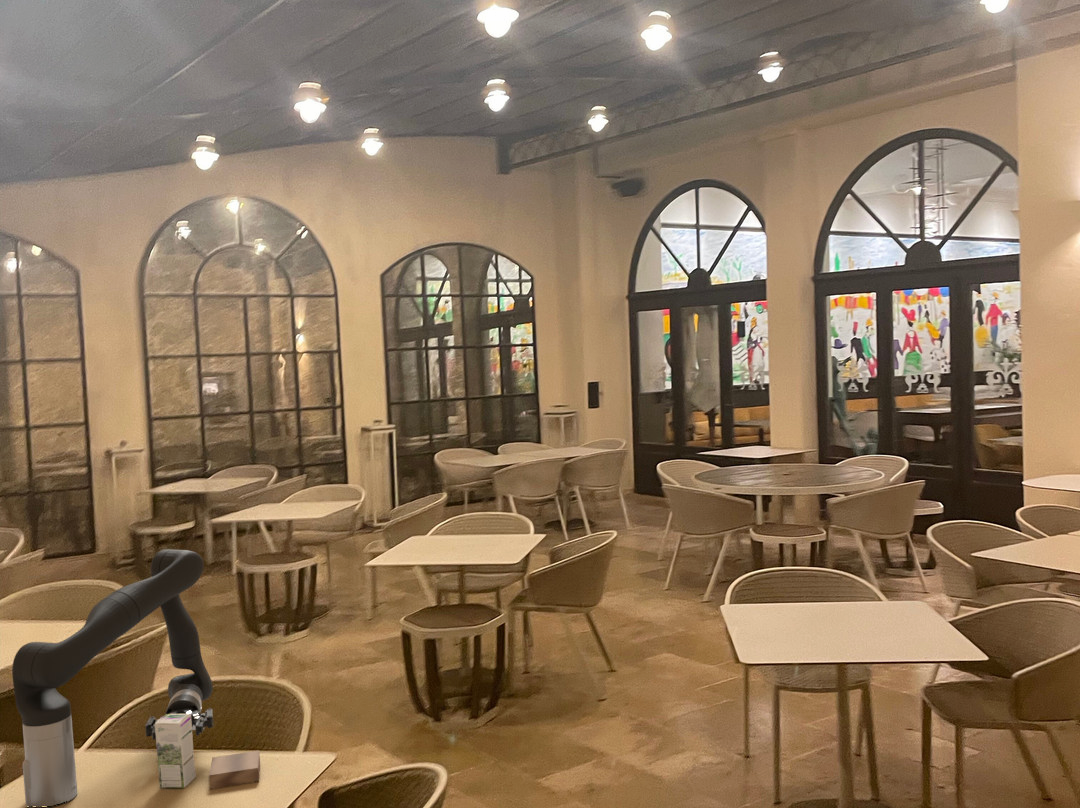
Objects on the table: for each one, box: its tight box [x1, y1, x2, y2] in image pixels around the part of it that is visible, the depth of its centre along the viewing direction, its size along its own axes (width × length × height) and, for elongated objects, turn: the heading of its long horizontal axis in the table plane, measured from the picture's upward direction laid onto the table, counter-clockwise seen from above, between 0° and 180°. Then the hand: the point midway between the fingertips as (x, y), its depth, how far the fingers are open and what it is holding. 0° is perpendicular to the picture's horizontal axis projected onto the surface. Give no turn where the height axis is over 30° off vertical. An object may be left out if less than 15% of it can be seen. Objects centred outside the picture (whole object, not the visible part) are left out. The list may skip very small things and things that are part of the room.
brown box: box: [208, 749, 261, 790], centre depth 211 cm, size 10×10×3 cm
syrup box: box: [155, 713, 197, 789], centre depth 209 cm, size 6×6×14 cm
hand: (177, 733), depth 214 cm, fingers open, 8 cm apart
